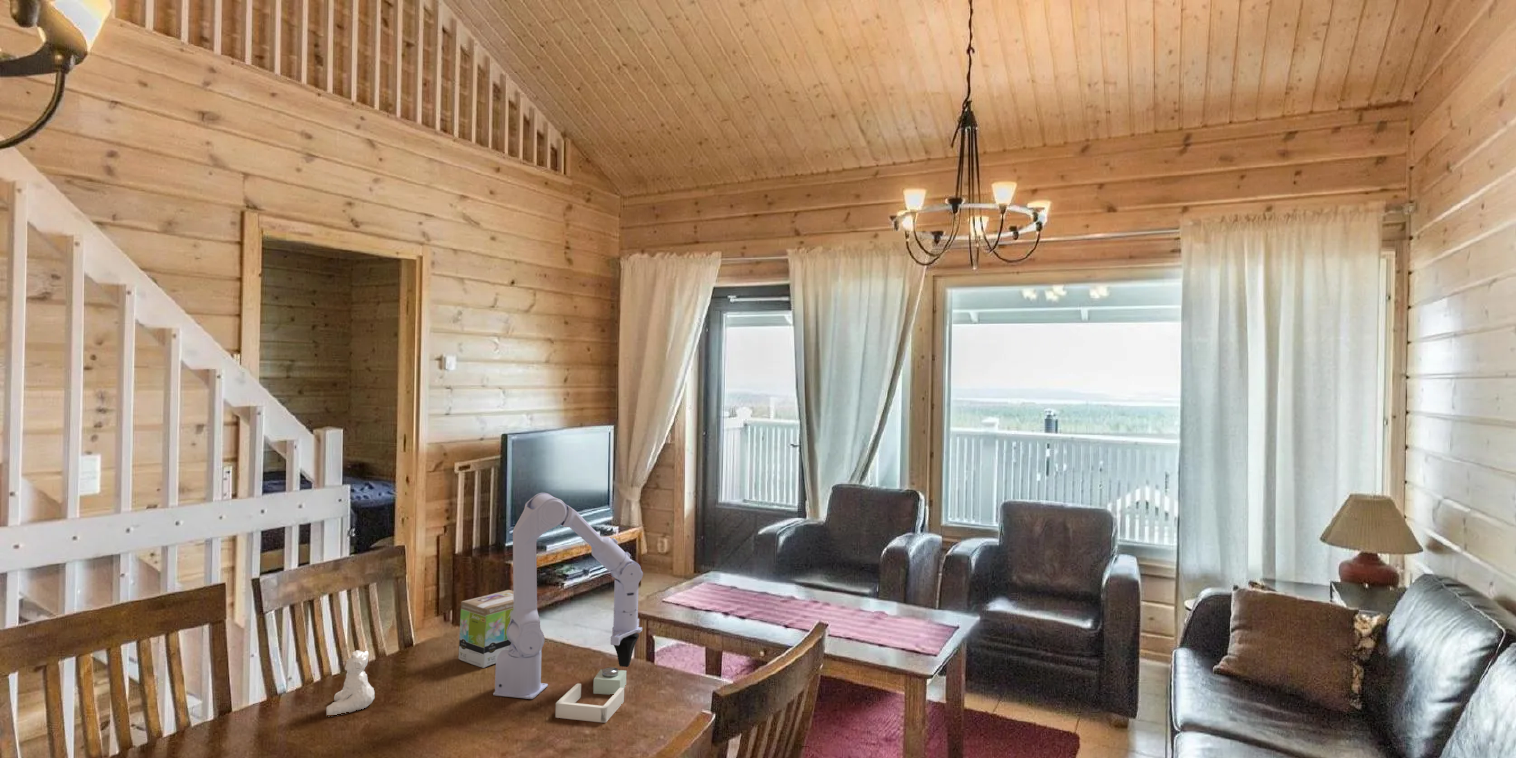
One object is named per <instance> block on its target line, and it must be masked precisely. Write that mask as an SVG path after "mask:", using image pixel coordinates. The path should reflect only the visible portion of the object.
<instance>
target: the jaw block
mask: <svg viewBox="0 0 1516 758" xmlns="http://www.w3.org/2000/svg"><path fill="white" fill-rule="evenodd" d="M625 685H626V686H627V670H623V669H621V670H619V669H618V668H617V667H609V666H608V667H604V668H600V670H599V671H598V673H596V675H595V677H594V678H593V686H592V690H593V692H592V694H593V695H596V694H598V695H610V694H615V692H616V691H617V690H618V689H619V688H624V689H625V688H626V686H625Z"/></svg>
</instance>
